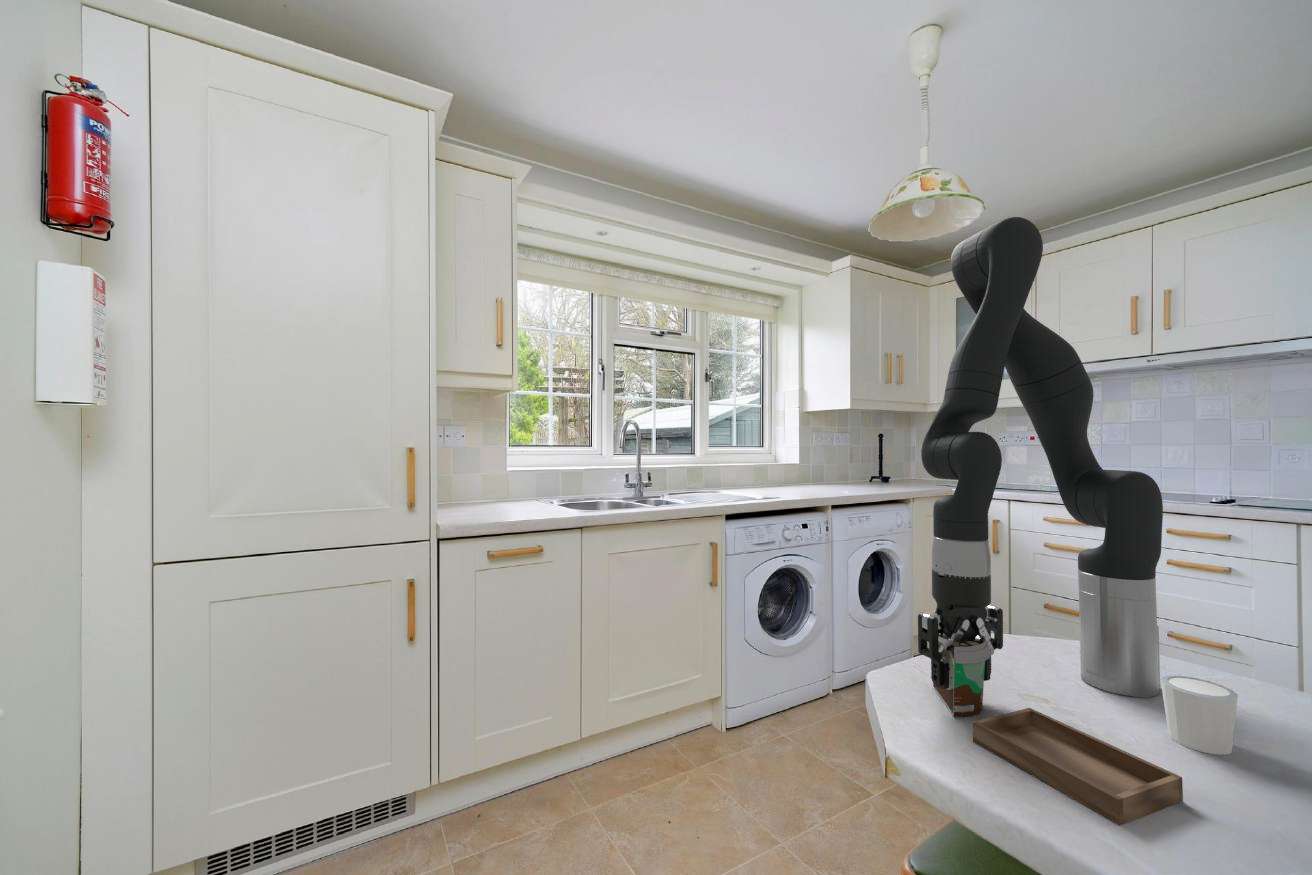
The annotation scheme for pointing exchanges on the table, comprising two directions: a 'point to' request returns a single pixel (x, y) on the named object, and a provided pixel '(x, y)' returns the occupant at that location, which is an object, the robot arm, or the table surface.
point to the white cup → (1199, 713)
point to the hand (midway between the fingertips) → (961, 682)
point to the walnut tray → (1080, 765)
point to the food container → (965, 677)
